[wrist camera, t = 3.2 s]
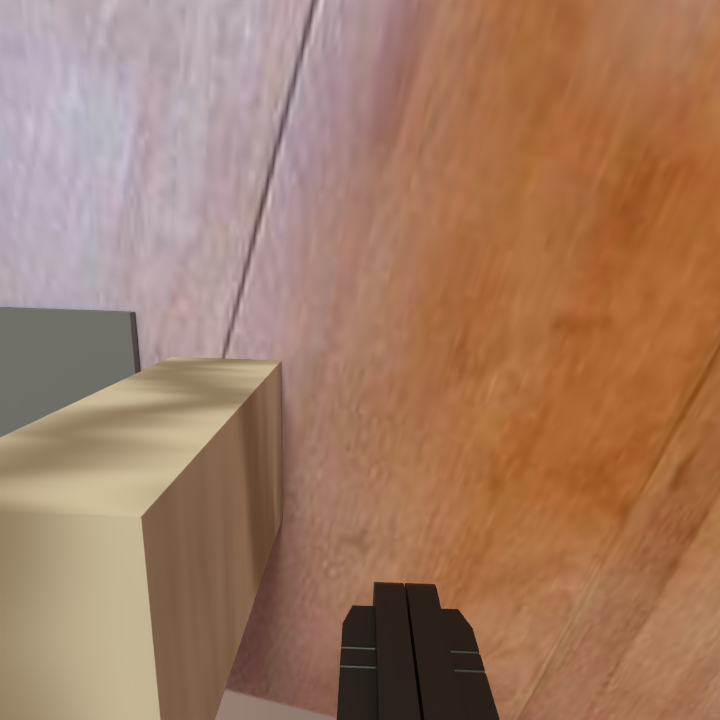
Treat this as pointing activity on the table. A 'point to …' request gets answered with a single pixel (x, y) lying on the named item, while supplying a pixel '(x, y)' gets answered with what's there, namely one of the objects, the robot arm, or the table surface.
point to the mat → (60, 359)
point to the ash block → (138, 542)
